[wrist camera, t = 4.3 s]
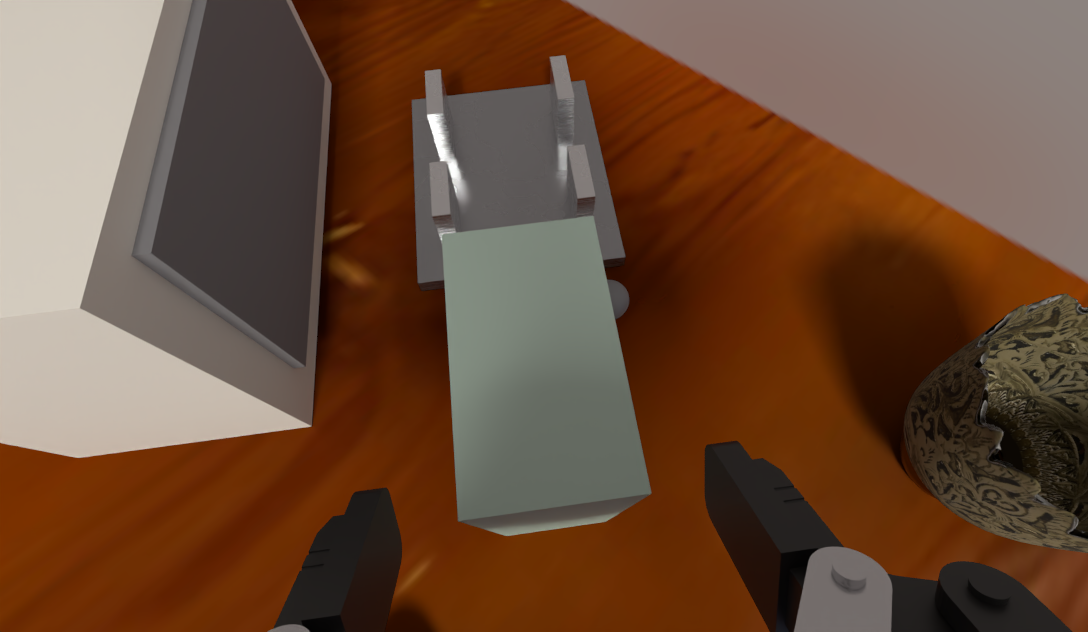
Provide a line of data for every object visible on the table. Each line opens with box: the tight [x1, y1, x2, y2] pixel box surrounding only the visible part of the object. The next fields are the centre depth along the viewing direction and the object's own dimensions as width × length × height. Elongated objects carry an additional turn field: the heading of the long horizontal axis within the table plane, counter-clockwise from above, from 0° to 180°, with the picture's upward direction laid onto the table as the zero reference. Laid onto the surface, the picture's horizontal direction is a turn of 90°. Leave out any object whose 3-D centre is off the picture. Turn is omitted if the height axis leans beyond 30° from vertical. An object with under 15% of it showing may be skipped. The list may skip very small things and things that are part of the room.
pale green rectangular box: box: [442, 216, 651, 536], centre depth 17 cm, size 5×7×11 cm
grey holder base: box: [412, 55, 625, 291], centre depth 26 cm, size 10×12×4 cm
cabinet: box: [0, 0, 332, 458], centre depth 21 cm, size 10×21×12 cm, turn 8°
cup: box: [900, 294, 1088, 553], centre depth 18 cm, size 8×7×8 cm
